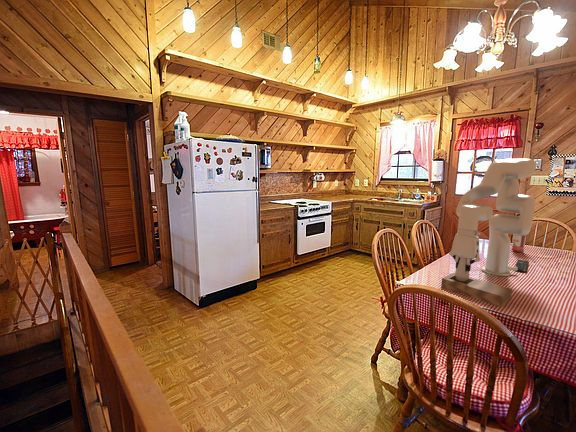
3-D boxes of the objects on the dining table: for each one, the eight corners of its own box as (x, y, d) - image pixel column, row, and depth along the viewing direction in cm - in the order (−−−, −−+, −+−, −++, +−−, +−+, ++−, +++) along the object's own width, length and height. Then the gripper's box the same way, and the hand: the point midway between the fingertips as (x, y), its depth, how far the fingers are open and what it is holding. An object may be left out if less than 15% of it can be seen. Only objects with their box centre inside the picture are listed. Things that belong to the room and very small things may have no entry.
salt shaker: (451, 277, 137) (454, 250, 135) (463, 277, 138) (466, 250, 136) (459, 282, 131) (463, 254, 129) (471, 281, 132) (475, 254, 130)
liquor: (527, 253, 191) (533, 211, 186) (516, 253, 191) (522, 211, 186) (518, 250, 198) (524, 209, 193) (507, 250, 198) (513, 209, 193)
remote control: (528, 263, 173) (529, 261, 173) (526, 274, 155) (526, 272, 155) (517, 261, 176) (517, 259, 176) (513, 271, 159) (514, 269, 158)
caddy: (511, 299, 125) (512, 289, 124) (501, 306, 118) (502, 296, 117) (452, 281, 144) (453, 272, 143) (441, 287, 137) (442, 278, 136)
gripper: (491, 235, 127) (485, 274, 130) (451, 228, 140) (448, 264, 143) (484, 237, 122) (478, 278, 125) (444, 230, 135) (440, 268, 138)
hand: (462, 270), depth 134 cm, fingers closed on salt shaker, 3 cm apart
